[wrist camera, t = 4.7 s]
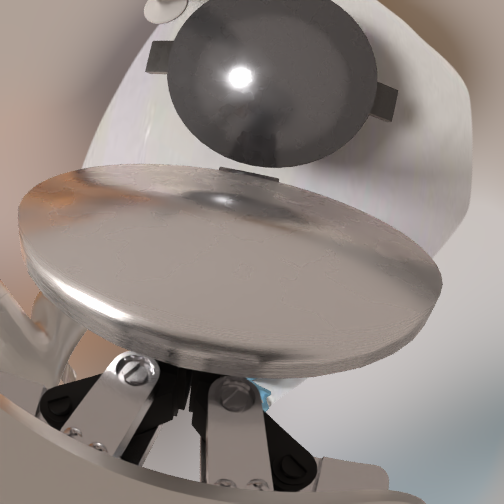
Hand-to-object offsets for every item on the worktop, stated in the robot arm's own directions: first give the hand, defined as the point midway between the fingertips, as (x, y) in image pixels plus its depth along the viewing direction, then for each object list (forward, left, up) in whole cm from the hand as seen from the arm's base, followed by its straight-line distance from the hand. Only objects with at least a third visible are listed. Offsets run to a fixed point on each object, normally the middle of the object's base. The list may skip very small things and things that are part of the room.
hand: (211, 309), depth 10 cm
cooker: (+13, 0, -33) cm, 35 cm away
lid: (+3, 0, -8) cm, 8 cm away
